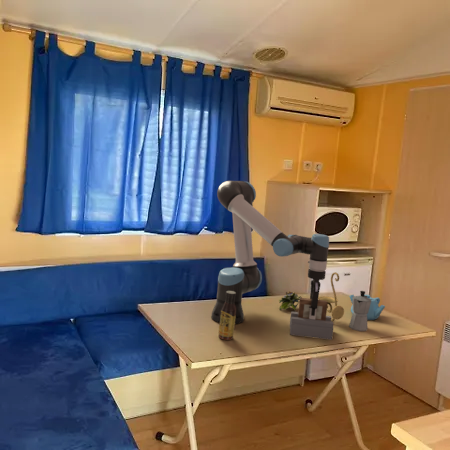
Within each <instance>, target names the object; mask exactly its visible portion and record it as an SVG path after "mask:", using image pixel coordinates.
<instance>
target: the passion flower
mask: <svg viewBox="0 0 450 450" xmlns="http://www.w3.org/2000/svg"><path fill="white" fill-rule="evenodd" d="M300 298H303V296H300V295H298V294H297V293H296V292H293V291H288V292H287V291H286V292H285V295H283V296H282V297H281V299H278V302H279V304H281V305H280V306H279V308H278V309H279V311H282V310H287V309H289V308H290V307H291V309H294V311H293V312H296V310H297V307H298V306H299V302H300ZM295 303H296V304H295Z"/></svg>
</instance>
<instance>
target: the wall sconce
mask: <svg viewBox="0 0 450 450" xmlns="http://www.w3.org/2000/svg"><path fill="white" fill-rule="evenodd" d="M334 276H336V277H337V278H335V279H334ZM333 279H334V280H335V282H339V280H340V275H339V273H337V272H332V273H331V276H330V285H331V289H332V293H333V296H334V297H332V296H325V295H324V296H323V295H321V296H319V297H318V300H326V301H327V302H328V304H327V313H329V314H330V313H331V318H332V319H331V321H332V322H333V323H334V321H335V320H340V319H342V318H343V317H344V314H345V309H344V308H343V306H341V305H338V302H339V300H338V299H337V293H336V290H335V285H334V281H333ZM332 304H334V307H333V306H332ZM329 307H330V308H329ZM328 308H329V309H328Z"/></svg>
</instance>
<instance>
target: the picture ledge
mask: <svg viewBox="0 0 450 450" xmlns="http://www.w3.org/2000/svg"><path fill="white" fill-rule="evenodd" d="M332 319H333V317H332V315H326V321H323V320H315V319H306V318H298V311H295V312H294V311H291V312H290V319H289V335H291V336H298V337H299V336H300V337H305V336H306V337H307V338H313V337H314V338H313V339H315V338H316V339H323V340H329V341H333V336H334V335H333V333H334V324H335V323H334V321H333V322H332V321H331V320H332ZM306 337H305V338H306Z"/></svg>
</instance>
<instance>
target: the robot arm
mask: <svg viewBox="0 0 450 450" xmlns="http://www.w3.org/2000/svg"><path fill="white" fill-rule="evenodd" d="M216 192H217V193H216V195H217V200H218V202H219V203H220V204H221V205H222V206H223V207H224V208H225V209H226V210H227V211H229V212H231V213H232V225H233V227H232V228H233V238H234V239H233V240H234V241H233V242H234V252H235V262H234V263H233V265H232V267H231V266H230V267H224V268H223V269H221V270H220V271H219V273H218V276H217V292H216V302H215V304H214V307H213V309H212V311H211V320H213V321H215V322H217V323H219V324H220V317H221V310H222V308H223V305H224V303H225V300H226V291H234V292H236V296H235V302H234V304H235V306H236V318H235V325H236V324H237V325H238V324H240V323H243V322H244V320H245V315H244V310H243V305H242V300H243V295H244V294H246V293H247V294H248V293H249V292H250V293H251V292H253V291H255V290H256V289H258V288H259V287H260V286H261V284H262V281H263V274H262V271H261V270H259V268H258V263H257V262H256V261H255V260H254V251H253V249H254V248H253V239H252V238H253V237H252V230H253V231H255V233H256V234H258V235H259V236H260V237H261V238H262V239H263V240H265V241H266V242H267V243H268V244H269V245H270V246H271V247H272V249H273V253H274V254H275V255H276V256H278V257H283V258H284V257H288V256H291V255H296V254H303V255H304V254H305V255H309V260H308V262H307V263H308V271H307V277H308V278H309V279H310V294H309V299H312V300H311V307H310V306H309V308H310V314H309V319H315V318H316V309H317V305H318V300H319V299H318V297H320V296H319V295H320V290H321V289H320V288H321V281H324V280H325V278H326V271H327V264H328V254H329V248H330V237H329V236H328V235H326V234H323V233H322V234H321V233H313V234H312V235H311V237H308V236H303V235H297V234H285V233H284V232H283V231H282V230H281V229H279V228H278V227H277V226H276V225H275V224H273V222H272V221H270V220H269V219H268V218H267V217H266V216H264V215H263V214H262V213H261V212H260V211H259V210H257V209H256V207H254V205H253V202H254V201H255V200H256V197H257V193H256V189H255V186H254V185H253V184H252V183H251V182H249V181H245V180H225V181H224V182H222V183H221V184H220V185H219V186H218V189H217V191H216Z"/></svg>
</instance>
